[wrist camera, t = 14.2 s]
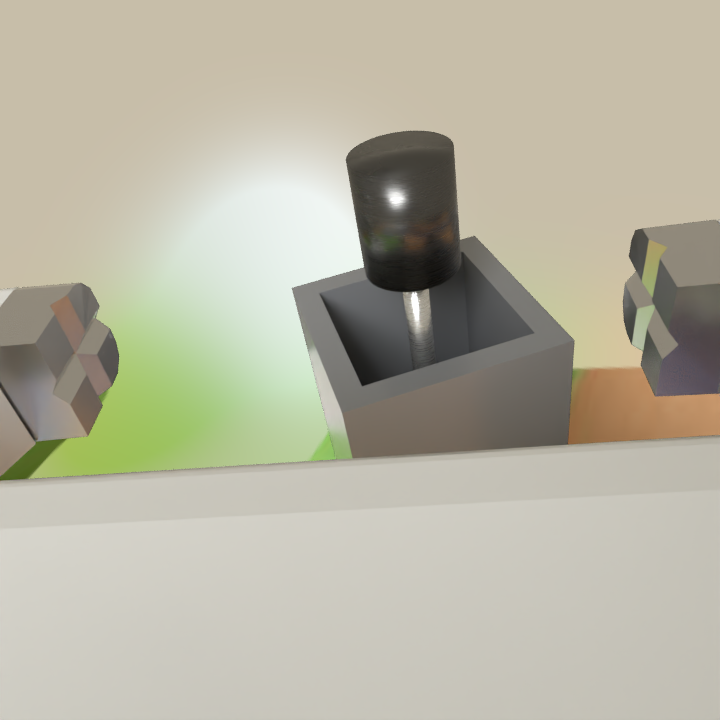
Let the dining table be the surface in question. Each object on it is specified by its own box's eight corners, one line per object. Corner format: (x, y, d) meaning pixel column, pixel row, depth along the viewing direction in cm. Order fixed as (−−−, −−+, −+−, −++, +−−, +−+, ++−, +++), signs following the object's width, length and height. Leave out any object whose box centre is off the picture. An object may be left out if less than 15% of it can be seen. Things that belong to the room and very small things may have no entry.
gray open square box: (394, 654, 32) (337, 418, 22) (346, 514, 39) (286, 287, 29) (596, 580, 33) (628, 327, 24) (515, 458, 40) (513, 222, 30)
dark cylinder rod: (400, 552, 30) (335, 211, 19) (363, 460, 35) (294, 145, 24) (522, 510, 31) (523, 160, 20) (470, 426, 35) (449, 105, 25)
